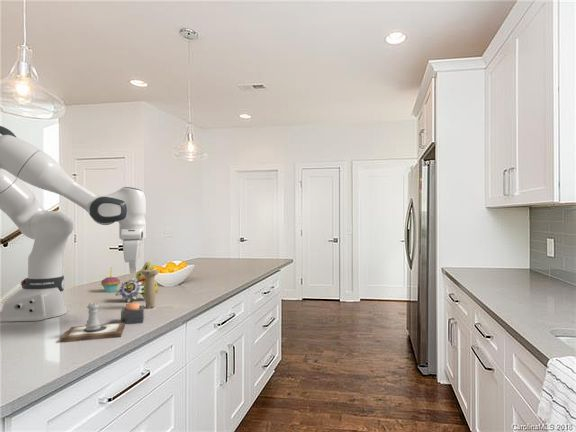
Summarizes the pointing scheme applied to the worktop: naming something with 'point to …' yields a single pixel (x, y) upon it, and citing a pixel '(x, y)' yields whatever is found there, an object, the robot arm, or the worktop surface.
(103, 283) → the cupcake
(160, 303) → the worktop surface
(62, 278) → the robot arm
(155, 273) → the handle
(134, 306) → the button
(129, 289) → the passion flower
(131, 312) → the button housing
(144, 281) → the yellow green figurine
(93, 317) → the rook chess piece
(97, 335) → the board
